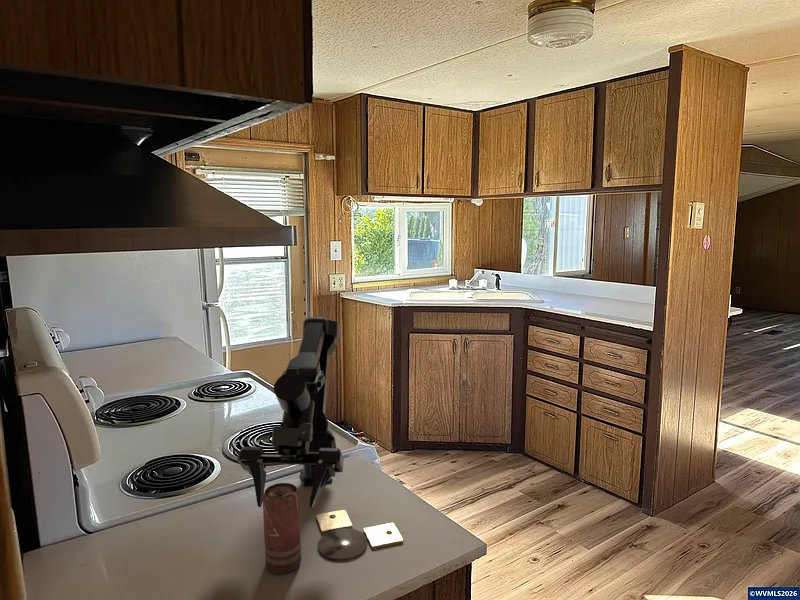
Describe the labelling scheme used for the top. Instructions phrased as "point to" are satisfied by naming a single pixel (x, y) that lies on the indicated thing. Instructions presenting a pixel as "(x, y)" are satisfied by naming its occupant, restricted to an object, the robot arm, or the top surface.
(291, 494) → the can
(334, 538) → the flat squares and disc
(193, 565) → the top surface
